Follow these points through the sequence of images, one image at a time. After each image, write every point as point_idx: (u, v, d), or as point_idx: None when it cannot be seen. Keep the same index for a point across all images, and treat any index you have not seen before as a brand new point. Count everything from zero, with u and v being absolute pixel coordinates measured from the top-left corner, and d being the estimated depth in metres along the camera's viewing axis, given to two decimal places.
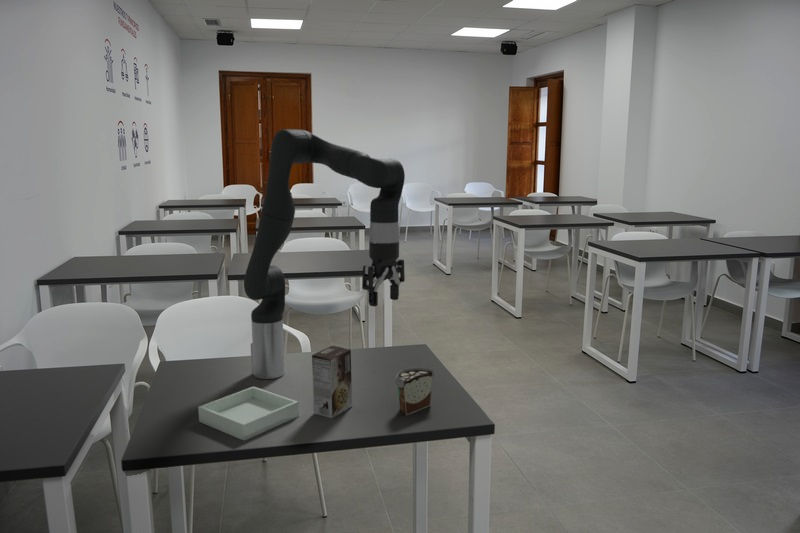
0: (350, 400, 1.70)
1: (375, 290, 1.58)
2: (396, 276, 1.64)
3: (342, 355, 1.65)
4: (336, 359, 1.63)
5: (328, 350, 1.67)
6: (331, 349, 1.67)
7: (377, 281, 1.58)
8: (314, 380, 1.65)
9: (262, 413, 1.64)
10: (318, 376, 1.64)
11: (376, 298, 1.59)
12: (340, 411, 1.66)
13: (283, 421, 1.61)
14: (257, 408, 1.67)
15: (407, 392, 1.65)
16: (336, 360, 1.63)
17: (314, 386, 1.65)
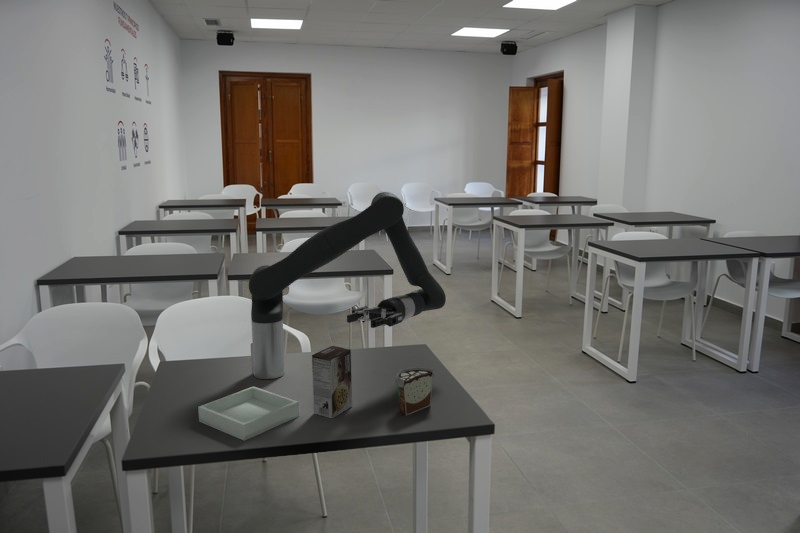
0: (350, 400, 1.70)
1: (383, 325, 1.74)
2: None
3: (342, 355, 1.65)
4: (336, 359, 1.63)
5: (328, 350, 1.67)
6: (331, 349, 1.67)
7: None
8: (314, 380, 1.65)
9: (262, 413, 1.64)
10: (318, 376, 1.64)
11: None
12: (340, 411, 1.66)
13: (283, 421, 1.61)
14: (257, 408, 1.67)
15: (407, 392, 1.65)
16: (336, 360, 1.63)
17: (314, 386, 1.65)
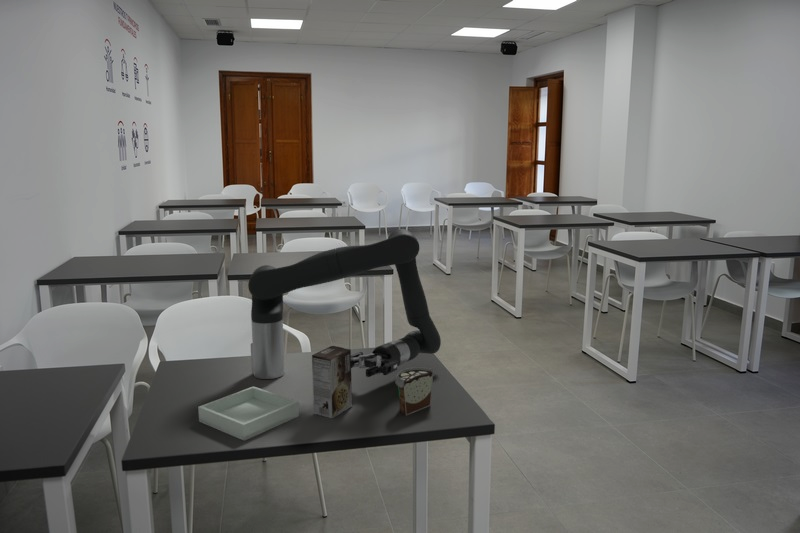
0: (350, 400, 1.70)
1: None
2: None
3: (342, 355, 1.65)
4: (336, 359, 1.63)
5: (328, 350, 1.67)
6: (331, 349, 1.67)
7: None
8: (314, 380, 1.65)
9: (262, 413, 1.64)
10: (318, 376, 1.64)
11: None
12: (340, 411, 1.66)
13: (283, 421, 1.61)
14: (257, 408, 1.67)
15: (407, 392, 1.65)
16: (336, 360, 1.63)
17: (314, 386, 1.65)
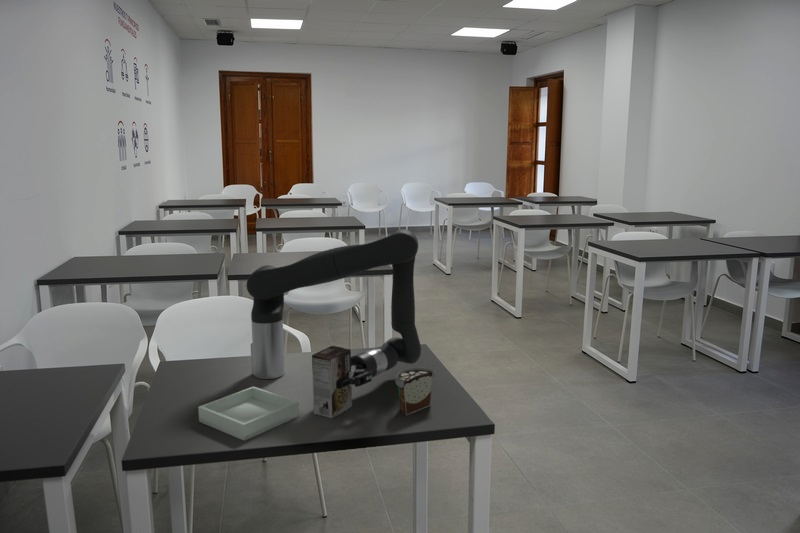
0: (350, 400, 1.70)
1: (350, 385, 1.66)
2: None
3: (342, 355, 1.65)
4: (336, 359, 1.63)
5: (328, 350, 1.67)
6: (331, 349, 1.67)
7: None
8: (314, 380, 1.65)
9: (262, 413, 1.64)
10: (318, 376, 1.64)
11: None
12: (340, 411, 1.66)
13: (283, 421, 1.61)
14: (257, 408, 1.67)
15: (407, 392, 1.65)
16: (336, 360, 1.63)
17: (314, 386, 1.65)
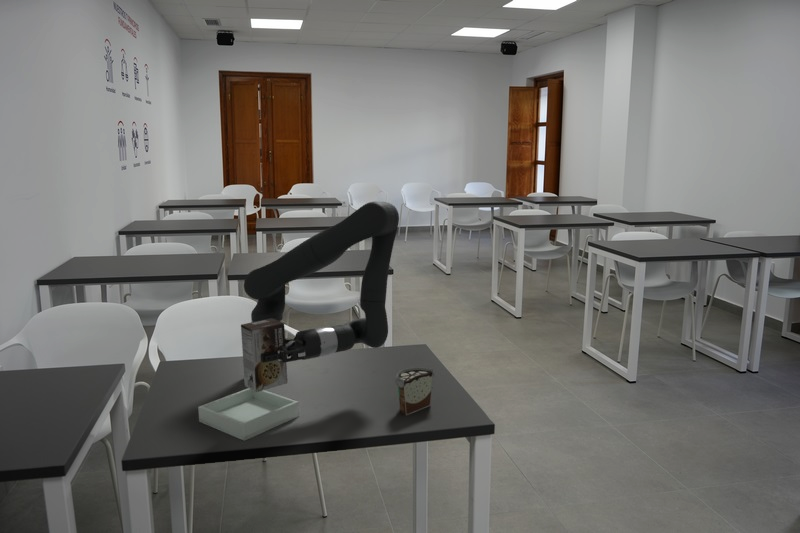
0: (284, 376, 1.61)
1: (279, 360, 1.58)
2: None
3: (270, 328, 1.57)
4: (260, 331, 1.55)
5: (261, 321, 1.60)
6: (265, 321, 1.60)
7: None
8: (243, 351, 1.59)
9: (262, 413, 1.64)
10: (245, 347, 1.58)
11: (269, 360, 1.57)
12: (267, 386, 1.59)
13: (283, 421, 1.61)
14: (257, 408, 1.67)
15: (407, 392, 1.65)
16: (260, 332, 1.55)
17: (243, 357, 1.59)
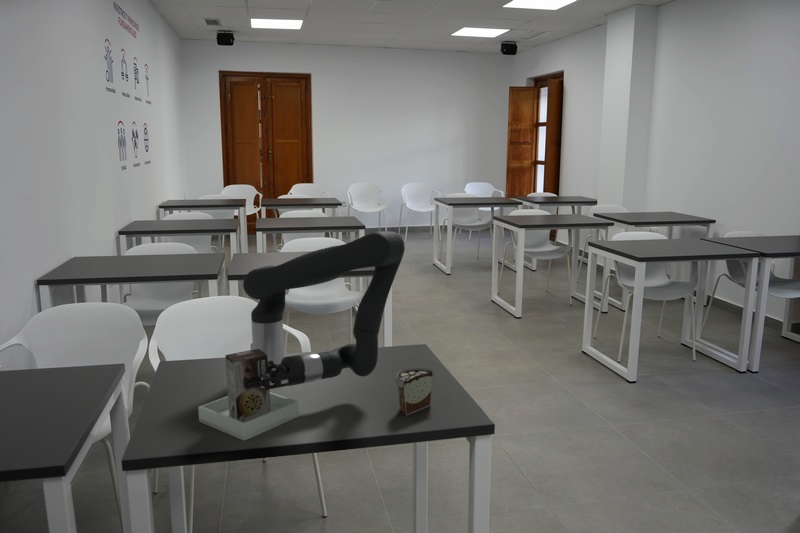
0: (267, 408, 1.62)
1: None
2: None
3: (252, 359, 1.58)
4: (242, 363, 1.57)
5: (246, 352, 1.62)
6: (249, 352, 1.62)
7: (269, 384, 1.60)
8: (227, 381, 1.61)
9: None
10: (228, 378, 1.60)
11: (253, 387, 1.58)
12: (249, 417, 1.60)
13: (283, 421, 1.61)
14: None
15: (407, 392, 1.65)
16: (242, 364, 1.57)
17: (227, 387, 1.61)
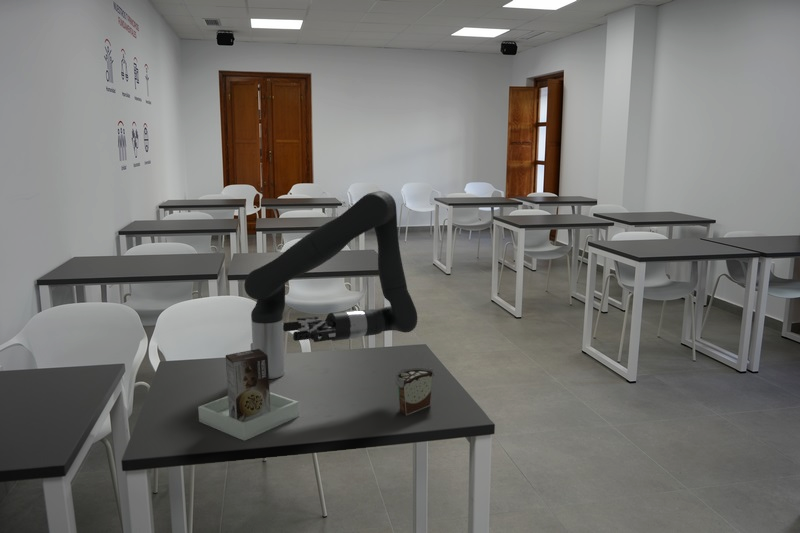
0: (267, 408, 1.62)
1: (310, 339, 1.62)
2: None
3: (252, 360, 1.58)
4: (242, 363, 1.57)
5: (246, 352, 1.62)
6: (250, 352, 1.62)
7: None
8: (227, 381, 1.61)
9: None
10: (229, 378, 1.60)
11: (301, 339, 1.62)
12: (249, 417, 1.60)
13: (283, 421, 1.61)
14: None
15: (407, 392, 1.65)
16: (242, 364, 1.57)
17: (227, 386, 1.61)
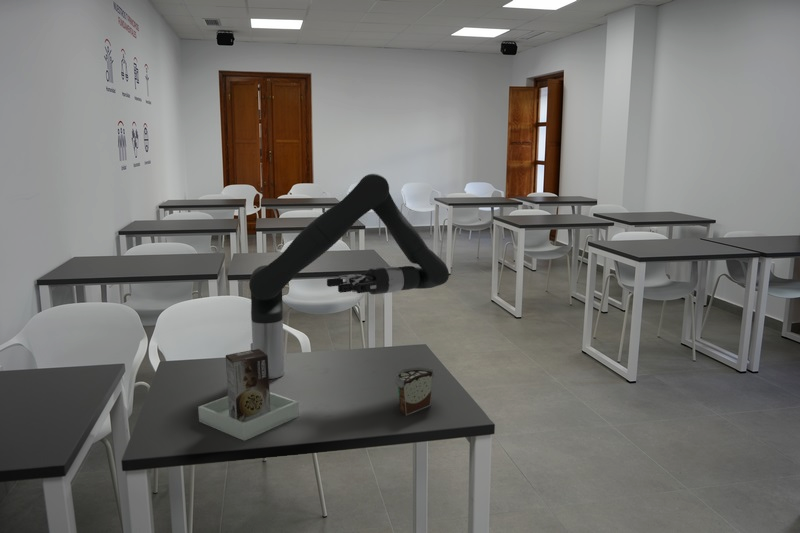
0: (267, 408, 1.62)
1: (353, 291, 1.77)
2: None
3: (252, 360, 1.58)
4: (242, 363, 1.57)
5: (246, 352, 1.62)
6: (250, 352, 1.62)
7: None
8: (227, 381, 1.61)
9: None
10: (229, 378, 1.60)
11: (345, 291, 1.77)
12: (249, 417, 1.60)
13: (283, 421, 1.61)
14: None
15: (407, 392, 1.65)
16: (242, 364, 1.57)
17: (228, 387, 1.61)
